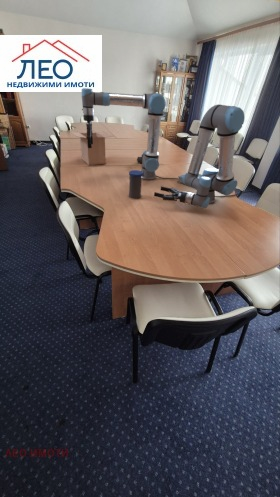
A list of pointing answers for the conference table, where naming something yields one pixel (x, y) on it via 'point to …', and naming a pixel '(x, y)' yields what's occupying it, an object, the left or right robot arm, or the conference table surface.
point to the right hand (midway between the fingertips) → (157, 191)
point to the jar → (135, 187)
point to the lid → (136, 173)
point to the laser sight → (140, 159)
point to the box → (93, 147)
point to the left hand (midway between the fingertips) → (90, 146)
